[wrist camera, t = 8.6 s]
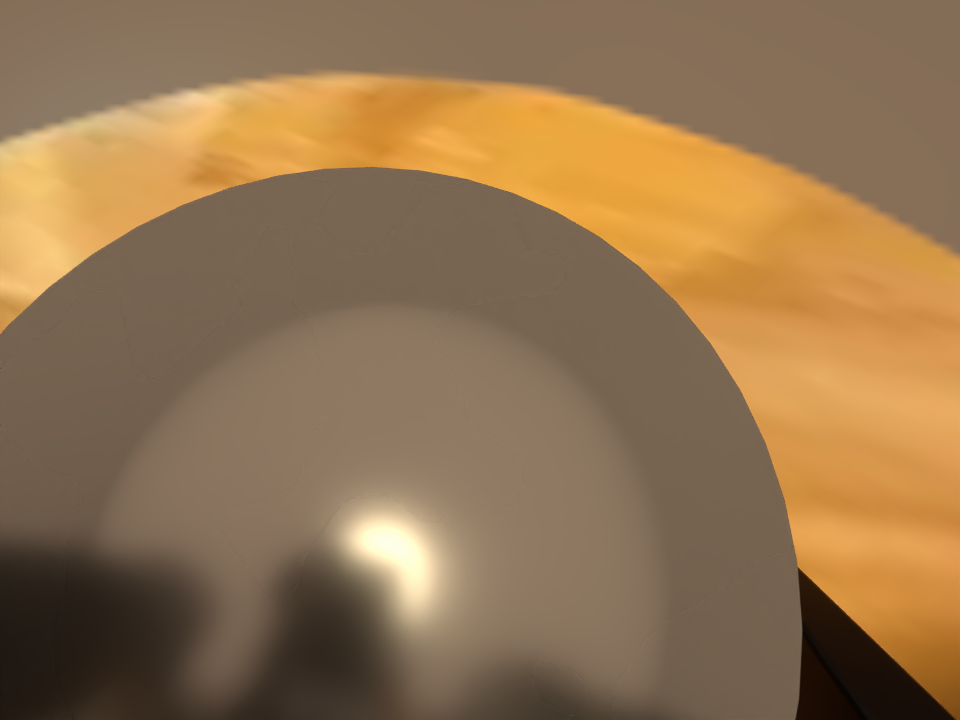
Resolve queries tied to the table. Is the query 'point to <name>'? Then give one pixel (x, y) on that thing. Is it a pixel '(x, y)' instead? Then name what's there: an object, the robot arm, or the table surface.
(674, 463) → the brushed metal canister
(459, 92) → the table surface
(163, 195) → the table surface
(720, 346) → the table surface
